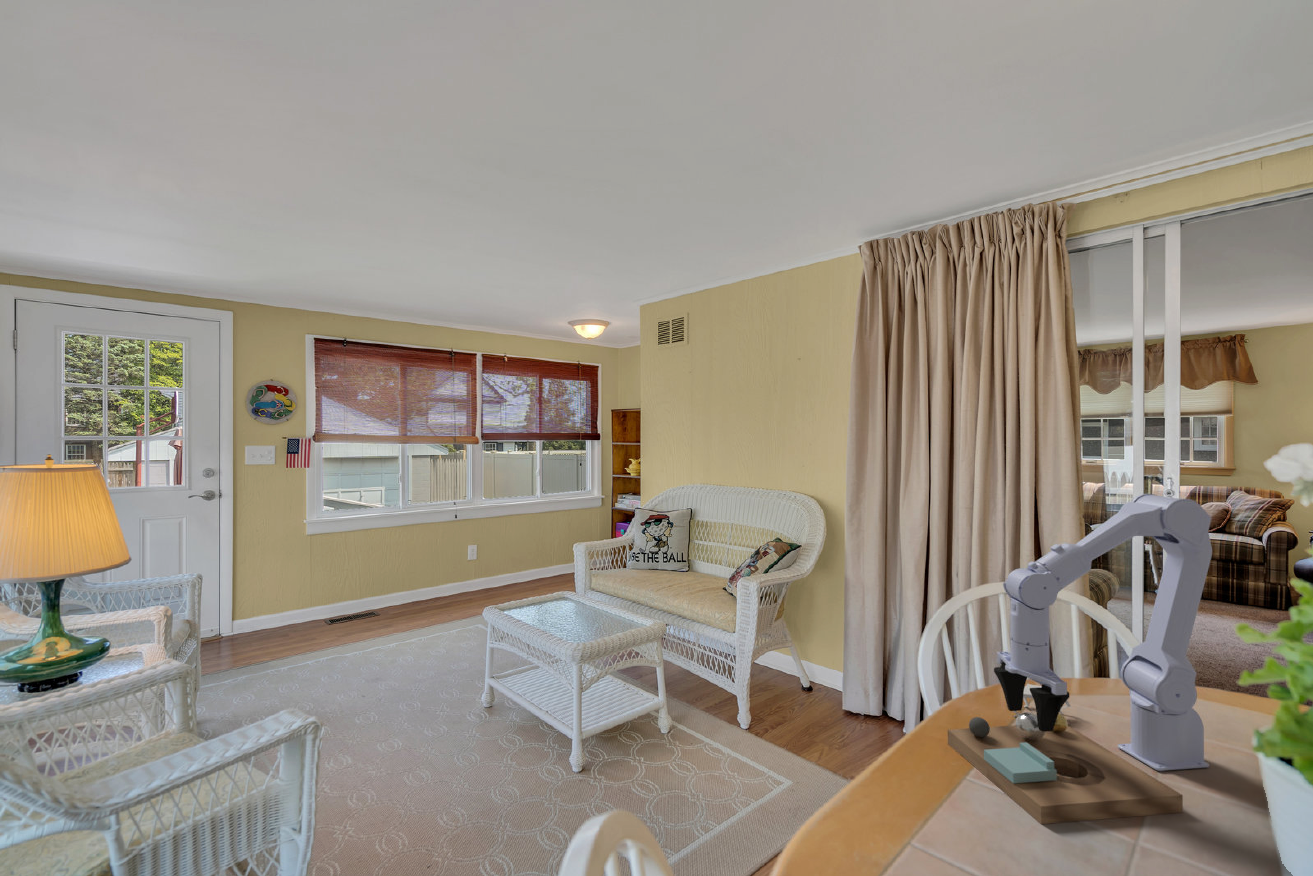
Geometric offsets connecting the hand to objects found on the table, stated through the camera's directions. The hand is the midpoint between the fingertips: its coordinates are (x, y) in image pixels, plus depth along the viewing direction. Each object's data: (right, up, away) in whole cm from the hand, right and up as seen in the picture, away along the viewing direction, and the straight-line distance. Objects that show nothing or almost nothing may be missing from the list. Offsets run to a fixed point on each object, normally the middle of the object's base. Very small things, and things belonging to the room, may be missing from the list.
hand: (1029, 720), depth 107 cm
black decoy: (-8, -2, +1) cm, 8 cm away
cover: (-8, -3, -10) cm, 13 cm away
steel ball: (0, -1, 0) cm, 1 cm away
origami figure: (+10, -6, +15) cm, 19 cm away
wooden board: (0, -6, -7) cm, 9 cm away
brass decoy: (+6, -2, +3) cm, 7 cm away
